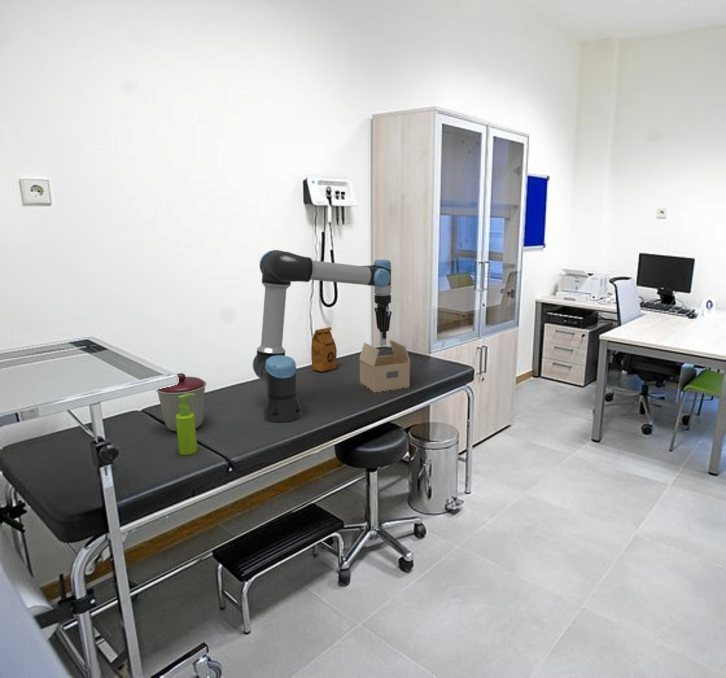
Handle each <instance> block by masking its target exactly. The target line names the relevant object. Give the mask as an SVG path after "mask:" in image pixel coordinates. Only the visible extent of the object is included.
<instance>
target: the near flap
mask: <svg viewBox="0 0 726 678" xmlns="http://www.w3.org/2000/svg"><path fill="white" fill-rule="evenodd" d="M361 349H362V350H361V352H360V355H359V361H360V360H362V361H364V362H365V363H367V364H369V365H371V366H372V367H374V366H375V363H376V359H377V357H379V356H378V355H379V353H380V349H379V348H376V347H374V346H372V345H370V344H368V343H367V342H363V347H362V348H361Z"/></svg>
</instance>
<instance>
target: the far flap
mask: <svg viewBox="0 0 726 678" xmlns="http://www.w3.org/2000/svg"><path fill="white" fill-rule="evenodd" d="M388 341H389V344H390V347H391V349H392V353H393V355H395V356H397V357H399V358H402V359H404V360H406V361H408V362H410V363H411V360H410V357H409V353H408V350H407V348H406V346H405V345H404V344H400V343H398V342H396V341H393V340H392V339H388Z"/></svg>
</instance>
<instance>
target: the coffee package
mask: <svg viewBox="0 0 726 678" xmlns="http://www.w3.org/2000/svg"><path fill="white" fill-rule="evenodd" d="M310 349H311V350H310V355H311V358H310V359H311V370H312V371H318V372H326V371H331V370H334V369H336V368H338V367H337V366H338V359H337V350H338V348H337V345H336V342H335V339H334V337H333V334H332V327H331V326H329V327H328V326H327V327H324V328H319V329H316V330H314V334H313V336H312V339H311V345H310Z"/></svg>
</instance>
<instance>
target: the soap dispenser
mask: <svg viewBox="0 0 726 678" xmlns="http://www.w3.org/2000/svg"><path fill="white" fill-rule="evenodd" d="M190 396H195V394H193V393H187V394H183V395H181V396H178V398H179V399H181V404H180V405H179V414H177V415H176V425H177V431H176V433H177V444H178V445H177V446H178V453H179V454H180V455H183V456H189V455H193V454H195V453H197V452H198V443H197V433H196V432H197V431H196V428H195V418H194V413H192V412H190V406H189V404H187V402H186V398H187V397H190Z"/></svg>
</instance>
